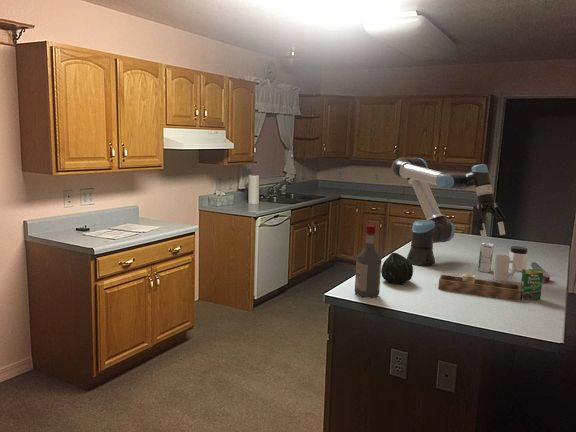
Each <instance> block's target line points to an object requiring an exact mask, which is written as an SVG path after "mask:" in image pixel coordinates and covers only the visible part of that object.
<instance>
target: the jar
mask: <svg viewBox="0 0 576 432" xmlns="http://www.w3.org/2000/svg"><path fill="white" fill-rule="evenodd" d="M528 255H529V253H528V247H525V246H519V245H513V246H510V251H509V253H508V256H510V260H511V261H512V260H515V263H516V271H515V272H522V271H523V269H527V264H528ZM508 270H511V271H513V270H514V265H513V264H512V263H509V269H508Z"/></svg>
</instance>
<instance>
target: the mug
mask: <svg viewBox="0 0 576 432" xmlns="http://www.w3.org/2000/svg"><path fill="white" fill-rule="evenodd" d="M509 263H512V264H513V265H514V270H512V272H509V270H510V269H509ZM493 265H494V266H493V281H495V282H507V281H508V277H513V276H514V275H515V273H516V272H517V271H516V263H515V260H512V261H511V260H510V256H509V255H507V254H506V255H505V254H495V255H494V264H493Z"/></svg>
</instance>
